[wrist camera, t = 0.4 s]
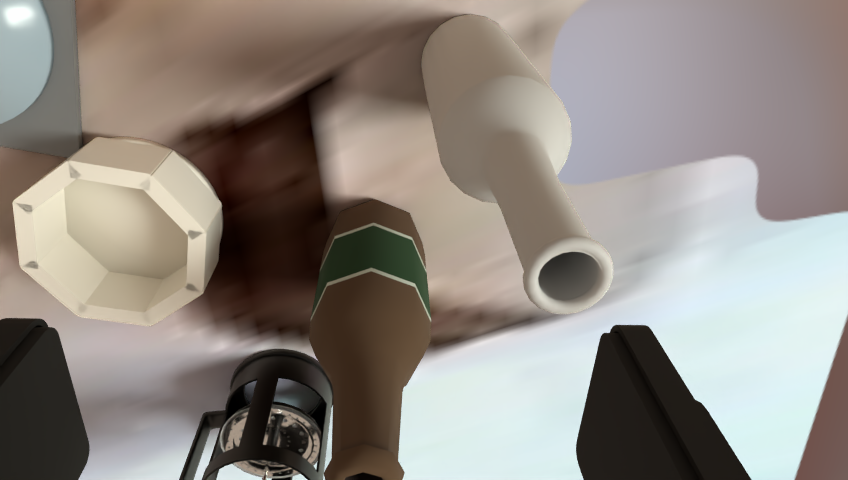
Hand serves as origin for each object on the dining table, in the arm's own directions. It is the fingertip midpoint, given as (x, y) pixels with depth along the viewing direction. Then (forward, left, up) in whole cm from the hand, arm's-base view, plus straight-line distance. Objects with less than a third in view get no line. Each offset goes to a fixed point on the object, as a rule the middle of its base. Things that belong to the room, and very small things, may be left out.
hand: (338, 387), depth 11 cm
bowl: (+17, -15, -35) cm, 42 cm away
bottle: (+1, +7, -35) cm, 36 cm away
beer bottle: (+16, +3, -35) cm, 39 cm away
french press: (+33, -3, -35) cm, 49 cm away
